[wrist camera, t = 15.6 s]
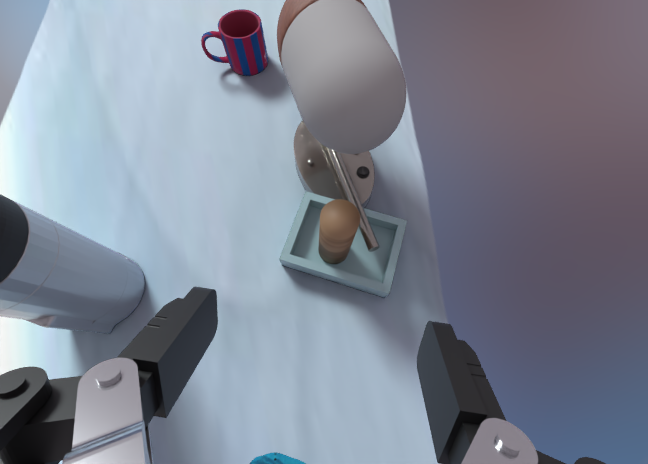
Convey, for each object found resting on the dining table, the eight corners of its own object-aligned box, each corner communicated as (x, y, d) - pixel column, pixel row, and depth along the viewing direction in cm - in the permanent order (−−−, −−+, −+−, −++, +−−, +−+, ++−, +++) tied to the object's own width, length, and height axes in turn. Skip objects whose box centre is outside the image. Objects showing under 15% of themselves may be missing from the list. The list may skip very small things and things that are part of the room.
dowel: (342, 268, 40) (352, 242, 30) (314, 257, 41) (313, 228, 30) (352, 241, 42) (365, 206, 31) (324, 231, 42) (328, 193, 32)
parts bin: (384, 298, 40) (389, 293, 37) (282, 265, 42) (279, 258, 39) (401, 229, 44) (407, 220, 41) (306, 201, 45) (305, 191, 42)
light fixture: (344, 175, 21) (239, -78, 34) (331, 270, 41) (267, 87, 54) (485, 138, 22) (333, -90, 36) (406, 247, 42) (327, 74, 55)
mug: (270, 73, 54) (263, 35, 48) (212, 81, 53) (197, 44, 47) (265, 45, 56) (258, 6, 50) (209, 53, 56) (195, 14, 49)
